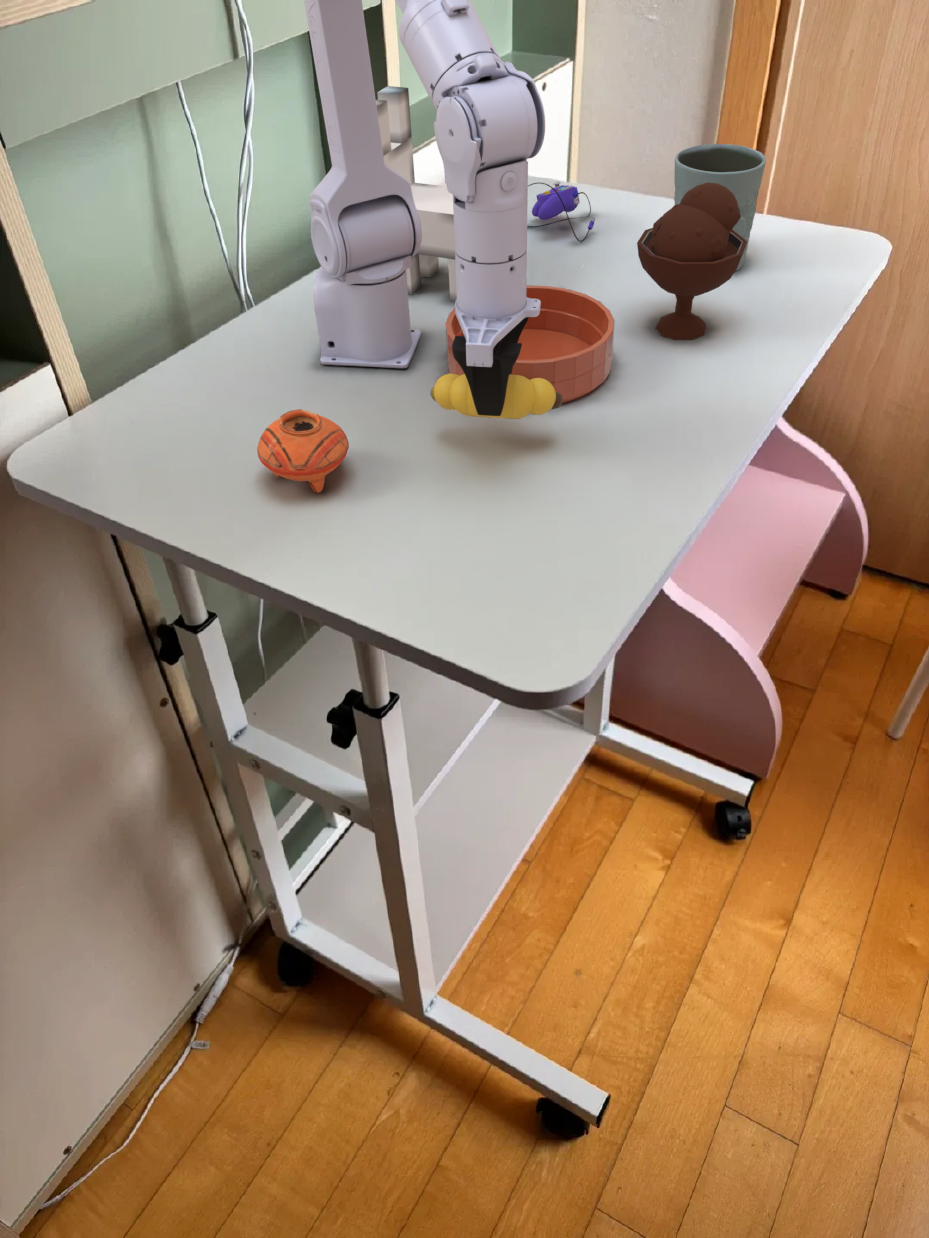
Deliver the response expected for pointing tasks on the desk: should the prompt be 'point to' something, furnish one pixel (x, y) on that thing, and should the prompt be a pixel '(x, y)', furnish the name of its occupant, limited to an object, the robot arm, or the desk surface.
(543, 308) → the bowl
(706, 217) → the ice cream bowl
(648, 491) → the desk surface
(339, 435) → the pot
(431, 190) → the toy llama
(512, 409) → the banana
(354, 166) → the robot arm
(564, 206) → the game controller
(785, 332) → the desk surface
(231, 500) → the desk surface
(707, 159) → the grey green cup
